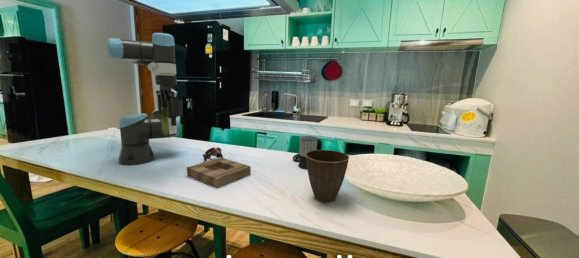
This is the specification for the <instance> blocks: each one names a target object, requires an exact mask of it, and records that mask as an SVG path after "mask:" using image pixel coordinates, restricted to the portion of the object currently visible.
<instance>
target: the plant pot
mask: <svg viewBox="0 0 579 258" xmlns="http://www.w3.org/2000/svg"><path fill="white" fill-rule="evenodd" d="M349 159H350V156H349V155H347V154H346V153H345V152H341V151H336V150H330V149H321V150H314V151H310V152H307V153H306V163H307V169H306V170H307V174H308V179H309V184H310V187H311V190H312V193H313V196H314V199H315V200H316V201H318V202H321V203H323V204H325V203H329V204H330V203H333V202H334V201H335V200H336V199H337V197H338V195H339V193H340V191H341V189H342V186H343V182H344V180H345V176H346V173H347V169H348V164H349Z"/></svg>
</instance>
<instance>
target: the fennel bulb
mask: <svg viewBox="0 0 579 258" xmlns="http://www.w3.org/2000/svg"><path fill="white" fill-rule="evenodd" d="M161 116H162V132H163V135H165V136H174V135H176V134H177V133H175V134H169V120H168V117H169V111H168V107H166V109H165V110H164V108H161ZM176 125H177V124H176Z"/></svg>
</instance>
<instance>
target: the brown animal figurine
mask: <svg viewBox="0 0 579 258" xmlns="http://www.w3.org/2000/svg"><path fill="white" fill-rule="evenodd" d="M222 153H223V152H222V148H221V147H219V146H218V147H215V146H214V147H210V148H209V149H207V150H206V151H205V152H204V153H203V154H202V157H203V161H204V162H207V161H208V160H209V161H210V160H212V159H211V158H212V157H216V158H221V157H222V158H224V155H223V154H222Z"/></svg>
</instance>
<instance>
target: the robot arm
mask: <svg viewBox="0 0 579 258" xmlns="http://www.w3.org/2000/svg"><path fill="white" fill-rule="evenodd" d="M151 39H152V40H151V41H143V40H133V39H125V38H124V39H123V38H117V37H116V38H113V37H109V38H108V39H107V41H106V43H107V52H108V55H109V57H110V58H111V59H118V60H124V61H125V62H128V63H130V64H135V65H141V66H147V69H148V70H149V71H150V73H151V74H150V75H151V82H152V84H151V85H152V95H153V103H154V105H153V107H154V110H153V111H152V112H151V116H150V115H149V116H148V114H147V113H136V114H129V115H126V116H125V115H124V116H122V117H121V118H119V120H118V121H119V126H118V127H119V132H120V133H119V134H120V140H121V149H120V153H119V156H118V162H119V163H118V164H120V165H124V166H134V165H141V164H146V163H149V162H152V161H154V160H155V153H154V151H153V149H152V147H151V144H150V140H154V139H157V140H158V139H166V138H168V139H170V138H176V137H178V136H179V135H180V132H181V131H180V129H181V116H180V107H179V106H180V105H179V104H180V103H179V91H178V90H177V91H176V90H175V87H174V86H177V84H178V82H177V81H178V80H177V76H176V75H177V64H176V50H175V48H176V47H175V46H176V44H175V38H174V36H173V35H172V34H169V33H166V32H164V33H163V32H154V33H152V36H151ZM166 107H168V111H169V117H168V120H169V134H175V133H177V134H176V135H174V136H165V135H163V132H162V116H161V108H164V110H165V109H166ZM176 124H177V125H176Z"/></svg>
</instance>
